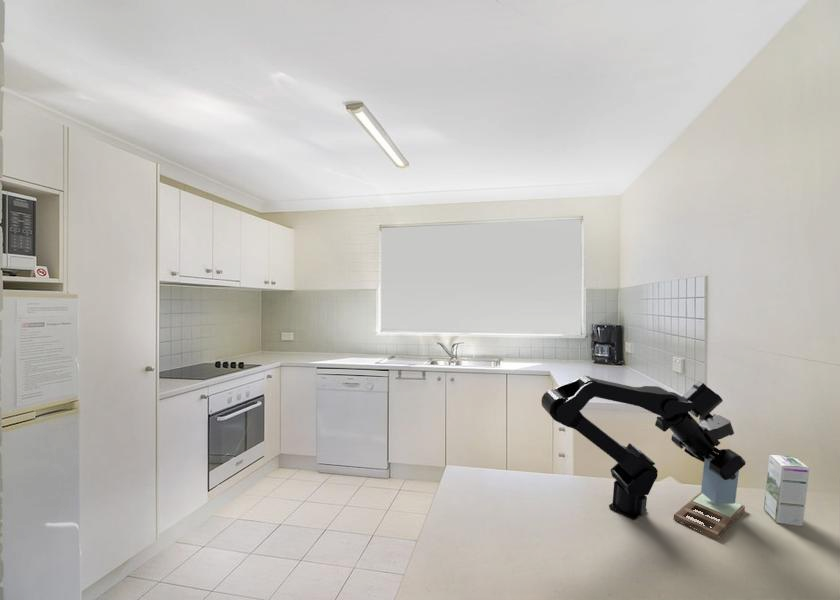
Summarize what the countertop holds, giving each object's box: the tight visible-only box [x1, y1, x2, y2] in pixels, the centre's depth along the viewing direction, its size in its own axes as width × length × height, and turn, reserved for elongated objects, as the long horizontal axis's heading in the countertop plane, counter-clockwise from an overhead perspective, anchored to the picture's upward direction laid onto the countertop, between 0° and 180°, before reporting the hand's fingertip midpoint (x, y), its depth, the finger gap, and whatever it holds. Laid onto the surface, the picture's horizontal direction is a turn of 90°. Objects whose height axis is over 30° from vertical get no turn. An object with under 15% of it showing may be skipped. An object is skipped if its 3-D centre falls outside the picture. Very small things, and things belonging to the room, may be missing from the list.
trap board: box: [673, 492, 746, 540], centre depth 107 cm, size 9×18×1 cm, turn 128°
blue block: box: [700, 458, 740, 504], centre depth 109 cm, size 5×5×9 cm
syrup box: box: [763, 454, 810, 527], centre depth 106 cm, size 6×6×14 cm
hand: (725, 472), depth 109 cm, fingers closed on blue block, 5 cm apart
